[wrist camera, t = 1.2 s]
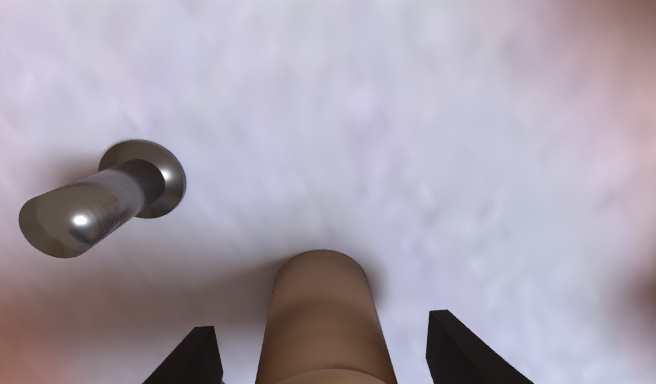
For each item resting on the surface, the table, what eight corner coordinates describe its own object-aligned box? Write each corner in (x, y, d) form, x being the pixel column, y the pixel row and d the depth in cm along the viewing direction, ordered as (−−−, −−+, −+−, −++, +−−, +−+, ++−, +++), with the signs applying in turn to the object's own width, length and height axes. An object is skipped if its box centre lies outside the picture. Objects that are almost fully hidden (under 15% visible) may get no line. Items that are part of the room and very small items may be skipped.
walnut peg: (369, 327, 14) (411, 500, 8) (277, 333, 13) (251, 514, 8) (369, 245, 12) (420, 382, 7) (267, 251, 12) (227, 397, 6)
